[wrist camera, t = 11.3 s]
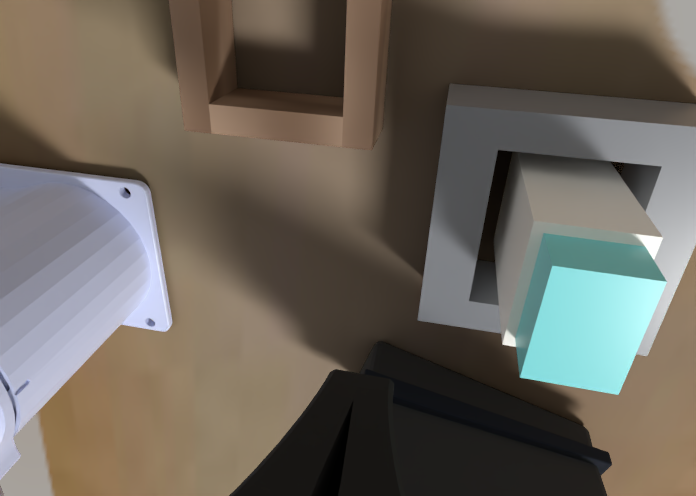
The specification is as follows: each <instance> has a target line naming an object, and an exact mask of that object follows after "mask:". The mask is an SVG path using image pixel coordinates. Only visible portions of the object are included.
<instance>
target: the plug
mask: <svg viewBox="0 0 696 496" xmlns="http://www.w3.org/2000/svg"><path fill="white" fill-rule="evenodd" d="M662 239H663V237H662V235H661V234H660V232H659V231H658V229H657V228H656V227H655V225H654V224H653V222H652V221H651V219H650V218H649V217H648V215H647V214H646V212H645V211H644V209H643V208H642V206H641V205H640V204H639V202H638V201H637V199H636V198H635V196H634V195H633V193H632V192H631V191H630V189H629V188H628V186H627V185H626V183H625V182H624V181H623V179H622V178H621V176H620V175H619V173H618V172H617V170H616V169H615V168H614V166H613V165H612V163H611V162H610V161H603V160H593V159H583V158H573V157H563V156H553V155H543V154H534V153H524V152H514V151H513V152H512V157H511V161H510V166H509V171H508V175H507V180H506V185H505V189H504V194H503V198H502V203H501V208H500V212H499V217H498V221H497V226H496V231H495V235H494V240H493V242H494V253H495V265H496V277H497V289H498V300H499V312H500V324H501V336H502V345H508V346H514V347H516V350H517V358H518V366H519V375H520V378H525V379H531V380H537V381H543V382H548V383H554V384H560V385H565V386H571V387H577V388H583V389H588V390H594V391H600V392H606V393H611V394H617V395H619V392H620V390H621V388H622V385H623V383H624V381H625V378H626V376H627V374H628V371H629V369H630V367H631V365H632V362H633V360H634V358H635V355H636V353H637V351H638V348H639V346H640V344H641V341H642V339H643V337H644V334H645V332H646V330H647V327H648V325H649V323H650V320H651V318H652V316H653V313H654V311H655V309H656V307H657V304H658V302H659V300H660V297H661V295H662V293H663V290H664V288H665V286H666V283H667V281H666V279H665V278H664V276H663V274H662V273H661V271H660V269H659V268H658V266H657V264H656V263H655V261H654V259H655V256H656V254H657V251H658V249H659V246H660V244H661V241H662Z"/></svg>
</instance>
